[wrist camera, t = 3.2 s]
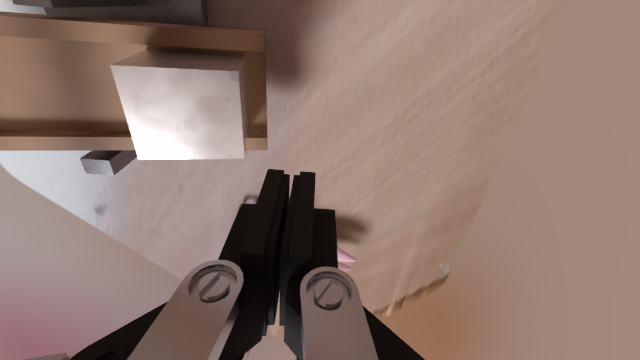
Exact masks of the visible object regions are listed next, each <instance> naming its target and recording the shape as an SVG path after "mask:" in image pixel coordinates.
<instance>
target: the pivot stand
mask: <svg viewBox="0 0 640 360" xmlns="http://www.w3.org/2000/svg"><path fill="white" fill-rule="evenodd" d="M13 3H14V4H17V5H28V6H39V7H44V8H45V11H46V14H47V15H53V16H67V17H80V18H94V19H107V20H121V21H134V22H148V23H161V24H175V25H188V26H202V27H208V19H207V11H206V2H205V0H13ZM136 157H137V153H136V150H93V151H91V152H89V153H88V154H86V155H85V156H83V157H81V158H80V160H81V162H82V165H83V167H84V169H85V172H86V173H91V174H104V175H115V174H116V173H118V172H119V171H120V170H121V169H123V168H124V167H125V166H126V165H127V164H129V163H130V162H131V161H132V160H134V159H135V158H136Z"/></svg>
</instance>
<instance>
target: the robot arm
mask: <svg viewBox="0 0 640 360" xmlns="http://www.w3.org/2000/svg"><path fill="white" fill-rule="evenodd" d="M289 184H290V175H288V174H284V170H274V169H268V171H267V174H266V177H265V180H264V183H263V186H262V189H261V192H260V195H259V197H258V200H257V203H256V204H244V203H243V204H241V206H240V208H239V211H238V213H237V216H236V218H235V220H234V223H233V225H232V228H231V230H230V232H229V235H228V237H227V240H226V242H225V244H224V247H223V249H222V252H221V254H220V256H219V259H218V260H213V261H208V262H205V263H203V264H200V265H199V266H197V267H196V268H194V269H193V270H191V271H190V272H189V274H188V275H187V276H186V277H185V278H184V280H183V281H182V282H181V284H180V285H179V287H178V288H177V290H176V291H175V292H174V294H173V295H172V297H171V298H170V300H169V301H168V302H166V303H164V304H162V305H161V306H159V307H157V308H155V309H153V310H152V311H150V312H148V313H146V314H144V315H143V316H141V317H139V318H137V319H136V320H134V321H132V322H130V323H128V324H127V325H125V326H123V327H121V328H120V329H118V330H116V331H114V332H112V333H111V334H109V335H107V336H105V337H103V338H102V339H100V340H98V341H96V342H95V343H93V344H91V345H89V346H88V347H86V348H85V349H83V350H82V351H80V352H79V353H77V354H76V355H74V356H69V357H68V355H67V354H66V353H61V354H54V355H48V356H42V357H36V358H31V359H25V360H248V357H249V352H250V349H251V348H252V347H254V346H255V345H256V344H257V343H258V342H260V341H261V339H262V336H266V332H267V326H268V325H274V323H275V317H276V311H277V304H278V298H279V291H280V325H281V326H285V328H284V342H285V343H286V344H287V346H288V347H289V348H290V349H291V351H292V352H293V353H294V354H295V355H296V359H295V360H424V359H423V358H422V357H421V356H420V355H419V354H418V353H417V352H415V351H414V350H413V349H412V348H411V347H410V346H409V345H407V344H406V343H405V342H404V341H403V340H402V339H400V338H399V337H398V336H397V335H396V334H395V333H393V332H392V331H391V330H390V329H389V328H388V327H387V326H386V325H384V324H383V323H382V322H381V321H380V320H379V319H377V318H376V317H375V316H374V315H373V314H372V313H371V312H369V311H368V310H367V309H366V308H365V307H364V306H363V305H362V302H361V299H360V295H359V292H358V288H357V286H356V284H355V282H354V280H353V279H352V278H351V277H350V276H349V275H348V274H347V273H345V272H344V271H342V270H340V269H338V256H337V239H336V221H335V210H329V209H314V194H315V173H314V172H300V175H294V179H293V184H292V190H291V196H290V202H289Z"/></svg>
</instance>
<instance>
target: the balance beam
mask: <svg viewBox="0 0 640 360" xmlns="http://www.w3.org/2000/svg"><path fill="white" fill-rule="evenodd" d="M145 49H151V50H168V51H185V52H202V53H220V54H237V55H244V64H245V80H246V97H247V114H248V134H247V143H246V150H267V103H266V55H265V31H256V30H242V29H229V28H215V27H202V26H188V25H175V24H161V23H148V22H134V21H121V20H107V19H94V18H80V17H67V16H53V15H40V14H26V13H13V12H0V150H135V147H134V143H133V140H132V137H131V133H130V130H129V127H128V123H127V120H126V117H125V113H124V110H123V107H122V103H121V100H120V97H119V93H118V90H117V87H116V83H115V80H114V77H113V73H112V70H111V67H110V65H112V64H114V63H116V62H118V61H121V60H123V59H125V58H127V57H130V56H132V55H134V54H136V53H139V52H141V51H143V50H145Z"/></svg>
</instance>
